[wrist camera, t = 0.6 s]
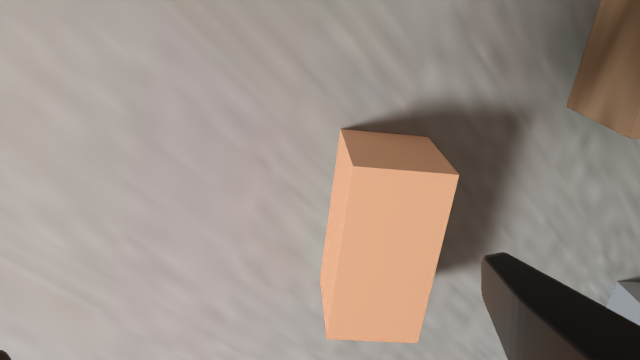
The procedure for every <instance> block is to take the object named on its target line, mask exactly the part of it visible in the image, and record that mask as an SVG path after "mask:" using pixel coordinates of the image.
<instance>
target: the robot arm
mask: <svg viewBox="0 0 640 360" xmlns="http://www.w3.org/2000/svg"><path fill="white" fill-rule="evenodd" d="M481 289H482V296H483V300H484V302H485V305H486V307H487V310H488V312H489V315H490V317H491V319H492V322H493V324H494V327H495V329H496V332H497V334H498V336H499V339H500V341H501V344H502V346H503V349H504V351H505V353H506V356H507V358H508V360H640V325H638V324H636V323H634V322H632V321H630V320H629V319H627V318H625V317H623V316H621V315H619V314H618V313H616V312H614V311H612V310H610V309H608V308H607V307H605V306H603V305H601V304H599V303H597V302H595V301H594V300H592V299H590V298H588V297H586V296H584V295H583V294H581V293H579V292H577V291H575V290H573V289H572V288H570V287H568V286H566V285H564V284H562V283H561V282H559V281H557V280H555V279H553V278H551V277H550V276H548V275H546V274H544V273H542V272H540V271H539V270H537V269H535V268H533V267H531V266H529V265H528V264H526V263H524V262H522V261H520V260H518V259H517V258H515V257H513V256H511V255H509V254H507V253H504V252H501V253H496V254H491V255H486V256H484V257H483V258H482V262H481ZM0 360H11V358H10V357H9V355H8V354H7V353H6V352H4V351H3V350H0Z"/></svg>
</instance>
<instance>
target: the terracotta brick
mask: <svg viewBox="0 0 640 360" xmlns="http://www.w3.org/2000/svg"><path fill="white" fill-rule="evenodd" d="M458 179H459V174H458V173H457V171H456V170H455V169H454V168H453V167H452V165H451V164H450V163H449V162H448V161H447V159H446V158H445V157H444V156H443V155H442V153H441V152H440V151H439V150H438V149H437V147H436V146H435V145H434V144H433V142H432V141H431V140H430V139H429V138H428V137H423V136H412V135H401V134H390V133H379V132H368V131H357V130H346V129H340V137H339V144H338V151H337V159H336V166H335V173H334V180H333V188H332V195H331V202H330V210H329V217H328V224H327V232H326V239H325V246H324V253H323V261H322V268H321V275H320V283H321V292H322V302H323V311H324V320H325V329H326V338H327V339H335V340H358V341H381V342H403V343H418V339H419V335H420V331H421V327H422V323H423V319H424V315H425V311H426V307H427V303H428V299H429V295H430V291H431V287H432V283H433V279H434V275H435V271H436V267H437V263H438V259H439V255H440V251H441V247H442V243H443V239H444V235H445V231H446V227H447V223H448V219H449V215H450V211H451V207H452V203H453V199H454V195H455V191H456V187H457V183H458Z"/></svg>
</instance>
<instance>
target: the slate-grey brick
mask: <svg viewBox="0 0 640 360" xmlns="http://www.w3.org/2000/svg"><path fill="white" fill-rule="evenodd" d="M607 308H608V309H610V310H612V311H614V312H616V313H618V314H619V315H621V316H623V317H625V318H627V319H629V320H630V321H632V322H634V323H636V324H638V325H640V282H625V281H617V282H616V284H615V287H614V289H613V292H612V294H611V297H610V299H609V302H608V304H607Z"/></svg>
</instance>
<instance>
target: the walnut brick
mask: <svg viewBox="0 0 640 360" xmlns="http://www.w3.org/2000/svg"><path fill="white" fill-rule="evenodd" d="M566 107H568V108H570V109H572V110H574V111H576V112H578V113H580V114H582V115H584V116H586V117H588V118H590V119H592V120H594V121H596V122H598V123H600V124H602V125H604V126H606V127H608V128H610V129H612V130H614V131H616V132H618V133H620V134H622V135H624V136H626V137H628V138H633V139H640V0H601V1H600V5H599V8H598V11H597V14H596V17H595V20H594V23H593V26H592V29H591V32H590V35H589V39H588V42H587V45H586V48H585V51H584V54H583V57H582V60H581V63H580V66H579V69H578V73H577V76H576V79H575V82H574V85H573V88H572V91H571V94H570V97H569V100H568V103H567V106H566Z"/></svg>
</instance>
